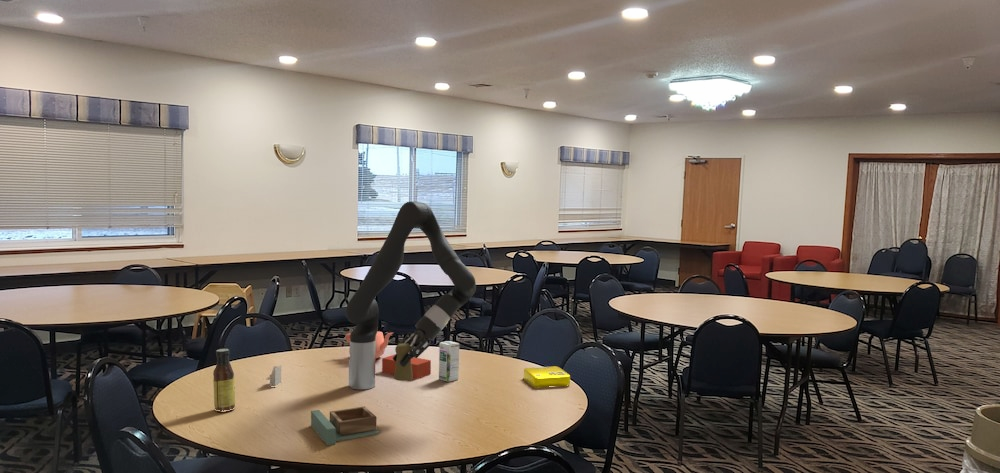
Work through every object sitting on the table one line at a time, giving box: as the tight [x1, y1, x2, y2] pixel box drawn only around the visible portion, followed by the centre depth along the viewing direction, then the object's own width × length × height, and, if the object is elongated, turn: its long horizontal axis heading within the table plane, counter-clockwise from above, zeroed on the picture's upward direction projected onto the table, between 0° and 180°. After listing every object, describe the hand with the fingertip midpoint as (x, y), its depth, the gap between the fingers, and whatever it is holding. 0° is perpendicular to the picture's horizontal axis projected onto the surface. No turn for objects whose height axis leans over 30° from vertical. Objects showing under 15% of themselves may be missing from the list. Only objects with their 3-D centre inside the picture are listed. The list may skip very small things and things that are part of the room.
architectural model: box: [265, 364, 282, 387], centre depth 239 cm, size 3×7×7 cm, turn 176°
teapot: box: [344, 331, 394, 359], centre depth 280 cm, size 17×16×13 cm
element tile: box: [523, 365, 571, 389], centre depth 250 cm, size 15×15×5 cm
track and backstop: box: [310, 409, 381, 446], centre depth 194 cm, size 18×16×5 cm
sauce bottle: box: [212, 348, 236, 411], centre depth 210 cm, size 7×6×20 cm
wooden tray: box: [329, 406, 378, 436], centre depth 195 cm, size 11×11×4 cm
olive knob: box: [393, 343, 414, 382], centre depth 206 cm, size 6×6×11 cm
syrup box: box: [438, 340, 460, 383], centre depth 251 cm, size 6×6×14 cm
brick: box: [381, 353, 432, 380], centre depth 259 cm, size 18×9×6 cm, turn 59°
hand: (398, 362), depth 205 cm, fingers closed on olive knob, 5 cm apart
